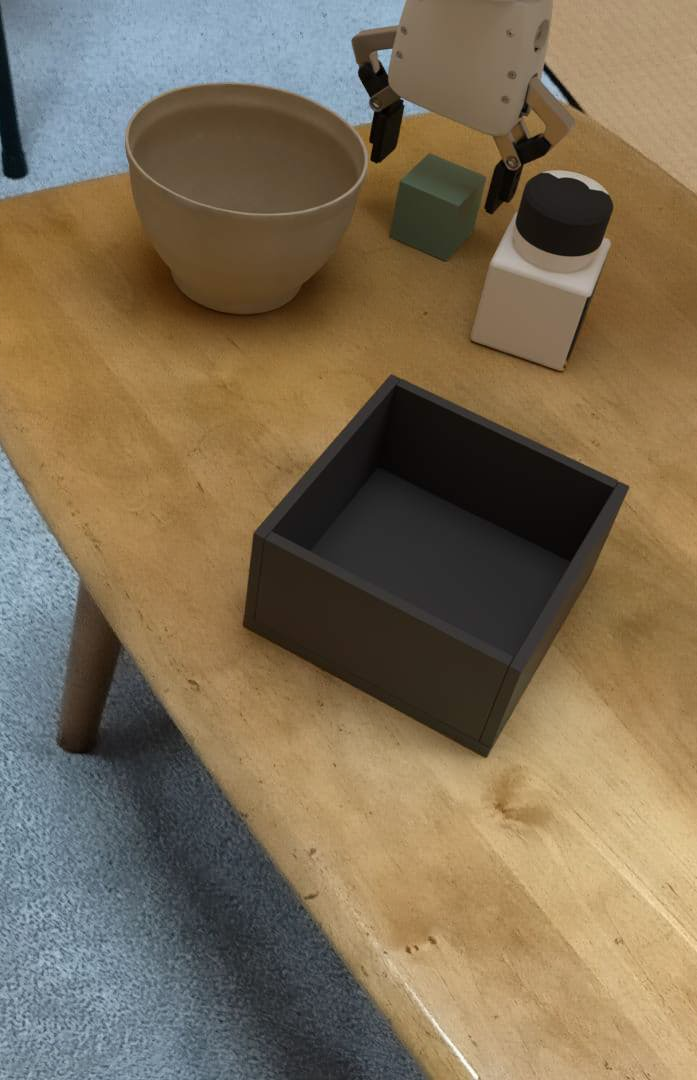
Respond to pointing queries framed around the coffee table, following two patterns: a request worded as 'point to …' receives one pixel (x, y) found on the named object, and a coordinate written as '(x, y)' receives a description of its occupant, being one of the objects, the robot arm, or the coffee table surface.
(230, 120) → the planter bowl
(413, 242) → the box
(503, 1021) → the coffee table surface
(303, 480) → the basket
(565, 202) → the medicine bottle
